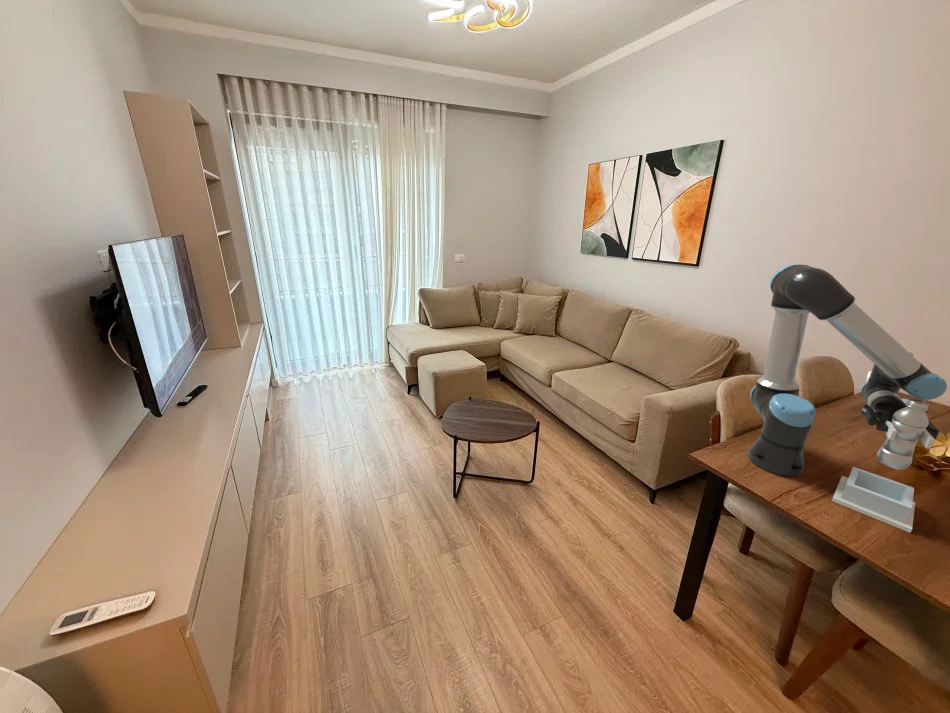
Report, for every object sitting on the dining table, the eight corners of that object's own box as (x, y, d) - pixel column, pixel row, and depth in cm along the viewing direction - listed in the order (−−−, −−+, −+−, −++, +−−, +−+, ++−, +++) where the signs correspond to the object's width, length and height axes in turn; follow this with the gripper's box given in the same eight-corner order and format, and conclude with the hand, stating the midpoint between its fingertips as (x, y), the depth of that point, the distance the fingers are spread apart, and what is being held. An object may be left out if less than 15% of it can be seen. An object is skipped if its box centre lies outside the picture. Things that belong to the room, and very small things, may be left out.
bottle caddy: (831, 500, 113) (838, 483, 111) (840, 478, 123) (847, 462, 121) (910, 532, 102) (919, 514, 100) (913, 505, 112) (922, 488, 110)
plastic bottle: (897, 474, 104) (928, 408, 97) (868, 460, 110) (894, 397, 103) (913, 470, 106) (944, 405, 99) (883, 456, 112) (910, 394, 105)
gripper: (927, 426, 115) (959, 464, 97) (842, 409, 125) (857, 440, 107) (937, 403, 112) (972, 438, 94) (850, 388, 122) (866, 416, 104)
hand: (911, 439), depth 100 cm, fingers closed on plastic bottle, 6 cm apart
